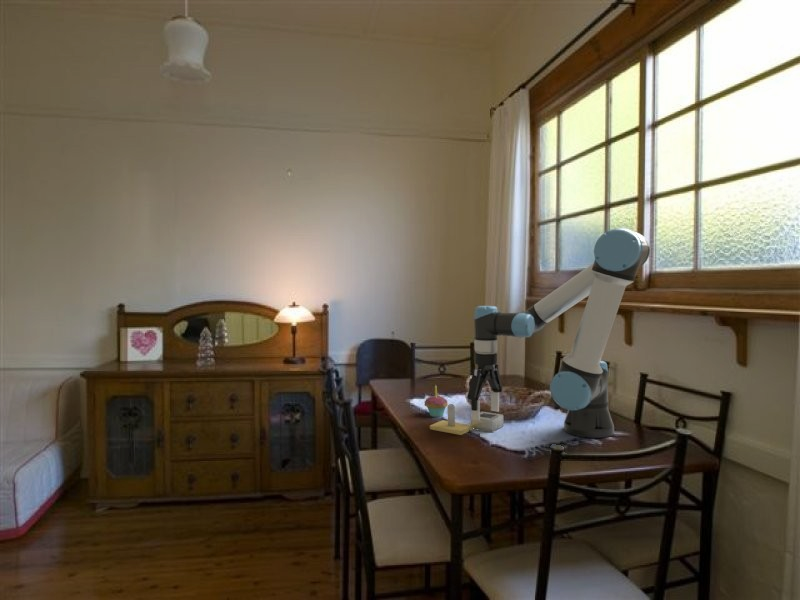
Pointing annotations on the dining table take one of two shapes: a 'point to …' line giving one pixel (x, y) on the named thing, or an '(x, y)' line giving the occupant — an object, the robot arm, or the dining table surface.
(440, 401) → the cupcake
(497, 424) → the beige square box
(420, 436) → the dining table surface
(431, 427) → the keeper post
